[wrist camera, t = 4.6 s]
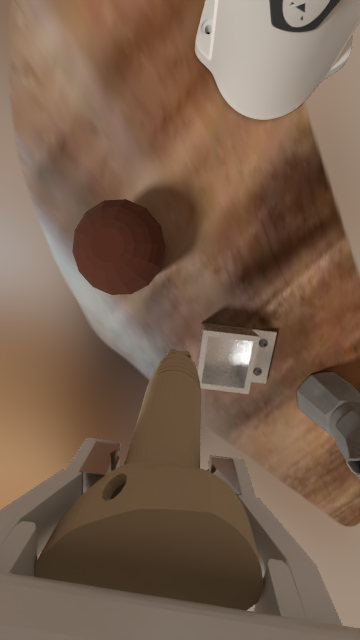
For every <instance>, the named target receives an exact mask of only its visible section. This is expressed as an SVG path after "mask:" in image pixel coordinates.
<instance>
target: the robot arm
mask: <svg viewBox="0 0 360 640" xmlns="http://www.w3.org/2000/svg"><path fill="white" fill-rule="evenodd" d="M359 22H360V0H206V1H205V5H204V9H203V12H202V16H201V20H200V24H199V28H198V32H197V36H196V43H195V53H196V55H197V57H198V58H199V60H200V61H201V62H202V63H203V64H204V65H205V66H206V67H207V68H208V69H209V70H210V71H211V72H212V74H213V76H214V79H215V81H216V84H217V86H218V88H219V90H220V92H221V94H222V96H223V97H224V99H225V100H226V101H227V103H228V104H229V105H230V106H231V107H232V108H233V109H235V110H236V111H237V112H239V113H241V114H242V115H244V116H247V117H250V118H253V119H260V120H268V119H274V118H278V117H281V116H284V115H286V114H288V113H290V112H292V111H293V110H295V109H296V108H298V107H299V106H300V105H301V104H302V103H303V102H304V101H305V100H306V99H307V98H308V97H309V96H310V95H311V93H312V92H313V91H314V90H315V89H316V87H317V86H318V85H319V84H320V83H321V82H322V81H323V80H324V79H326V78H328V77H329V76H331V75H333V74H334V73H336V72H337V71H338V70H340V69H341V68H342V67H343V66H344V64H345V62H346V61H347V59H348V57H349V56H350V53H351V48H352V34H353V32H354V31H355V29H356V27H357V26H358V24H359ZM207 32H209V33H210V34H206V33H207ZM119 451H120V443H118V442H112V441H106V440H100V439H93V438H87V439H86V440H85V441H84V442H83V444H82V445H81V447H80V448H79V450H78V452H77V453H76V455H75V456H74V458H73V459H72V461H71V462H70V464H69V465H68V467H67V469H66V470H61V471H59V472H57V473H56V474H54V475H53V476H51V477H50V478H48V479H47V480H45V481H44V482H42V483H41V484H39V485H38V486H36V487H35V488H33V489H32V490H30V491H28V492H27V493H25V494H24V495H22V496H21V497H19V498H18V499H16V500H15V501H13V502H12V503H10V504H9V505H7V506H6V507H4V508H3V509H1V510H0V640H360V628H353V627H347V626H342V623H341V621H340V619H339V616H338V614H337V612H336V609H335V607H334V605H333V603H332V600H331V598H330V596H329V593H328V591H327V589H326V587H325V584H324V582H323V580H322V577H321V575H320V573H319V570H318V568H317V566H316V564H315V563H314V562H313V561H312V559H311V558H310V557H309V556H308V555H307V553H306V552H305V551H304V550H303V549H302V548H301V547H300V545H299V544H298V543H297V542H296V541H295V539H294V538H293V537H292V536H291V535H290V534H289V532H288V531H287V530H286V529H285V528H284V527H283V526H282V524H281V523H280V522H279V521H278V519H277V518H276V517H275V516H274V515H273V514H272V512H271V511H270V510H269V509H268V508H267V507H266V505H264V503H263V502H262V501H261V500H260V498H256V497H255V494H254V490H253V487H252V484H251V480H250V477H249V474H248V470H247V467H246V464H245V461H244V460H243V459H235V458H227V457H219V456H212V455H210V457H209V462H208V463H209V469H208V470H207V471H209V472H211V473H213V474H214V475H216V476H218V477H219V478H220V479H222V480H223V481H224V482H226V483H227V484H228V485H229V486H230V487H231V489H232V490H233V491H234V492H235V493H236V495H237V496H238V498H239V500H240V501H241V503H242V505H243V507H244V509H245V511H246V514H247V517H248V519H249V522H250V525H251V528H252V532H253V536H254V540H255V544H256V548H257V552H258V556H259V560H260V565H261V569H262V575H263V588H262V593H261V596H260V599H259V602H258V603H256V604H255V608H254V611H246V610H240V609H234V608H227V607H221V606H215V605H209V604H202V603H196V602H190V601H184V600H177V599H171V598H165V597H159V596H152V595H146V594H140V593H133V592H127V591H121V590H114V589H108V588H102V587H95V586H89V585H83V584H76V583H70V582H64V581H57V580H51V579H45V578H38V577H35V575H34V566H35V563H36V561H37V556H38V554H40V552H41V551H42V550H43V549H44V547H45V545H46V543H47V541H48V540H49V538H50V536H51V534H52V532H53V531H54V529H55V527H56V526H57V524H58V523H59V521H60V520H61V519H62V517H63V516H64V515H65V514H66V512H67V511H68V510H69V509H70V508H71V507H72V505H73V504H74V503H75V502H76V501H77V500H78V499H79V498H80V497H81V496H82V495H83V494H84V493H85V492H86V491H87V490H88V489H89V488H90V487H92V486H93V485H94V484H95V483H96V482H97V481H99V480H100V479H101V478H103V477H104V476H105V475H107V474H108V473H109V472H111V471H113V470H115V469H117V468H118V466H119V456H118V453H119Z"/></svg>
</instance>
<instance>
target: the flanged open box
mask: <svg viewBox="0 0 360 640" xmlns="http://www.w3.org/2000/svg"><path fill="white" fill-rule="evenodd" d="M276 335H277V332H275V331H269V330H261V329H252V328H244V327H235V326H226V325H218V324H209V323H201V330H200V338H199V345H198V353H197V360H196V369H197V372H198V376H199V380H200V387H201V388H204V389H212V390H220V391H228V392H236V393H244V394H249V390H250V385H251V382H257V383H265V384H266V380H267V376H268V371H269V367H270V362H271V357H272V353H273V348H274V344H275V339H276Z"/></svg>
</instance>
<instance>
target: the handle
mask: <svg viewBox="0 0 360 640" xmlns="http://www.w3.org/2000/svg"><path fill="white" fill-rule="evenodd" d="M200 418H201V387H200V380H199V376H198V372H197V369H196V366H195V363H194V362H193V361H192V360H191V355H190V353H189V352H188V351H184V352H181V351H177V350H175V349H172V350H170V351H169V352H168V353H167V356H166V357H165V358H164V359H163V360H162V361H161V362H160V363H159V365H158V366H157V368H156V369H155V371H154V373H153V375H152V377H151V379H150V382H149V384H148V387H147V389H146V393H145V396H144V400H143V404H142V407H141V411H140V415H139V418H138V421H137V425H136V428H135V431H134V435H133V438H132V441H131V444H130V448H129V451H128V455H127V458H126V461H125V463H124V465H123V466H120V467H118V468H117V469H115V470H113V471H111V472H109V473H108V474H107V475H105V476H104V477H103V478H101V479H100V480H99V481H97V482H96V483H95V484H94V485H93V486H92V487H90V488H89V489H88V490H87V491H86V492H85V493H84V494H83V495H82V496H81V497H80V498H79V499H78V500H77V501H76V502H75V503H74V504H73V505H72V507H71V508H70V509H69V510H68V511H67V512H66V514H65V515H64V516H63V517H62V519H61V520H60V521H59V523H58V524H57V526H56V527H55V529H54V531H53V532H52V534H51V536H50V538H49V540H48V541H47V543H46V545H45V547H44V549H43V550H42V553H41V554H40V556H39V558H38V560H37V561H36V563H35V566H34V575H35V577H38V578H45V579H51V580H57V581H64V582H70V583H76V584H83V585H89V586H95V587H102V588H108V589H114V590H121V591H127V592H133V593H140V594H146V595H152V596H159V597H165V598H171V599H177V600H184V601H190V602H196V603H202V604H209V605H215V606H221V607H227V608H234V609H240V610H248V609H249V608H250V607H252V606H253V605H255V604H256V603H258V602H259V599H260V596H261V593H262V588H263V575H262V569H261V565H260V560H259V556H258V552H257V548H256V544H255V540H254V536H253V532H252V528H251V525H250V522H249V519H248V517H247V514H246V511H245V509H244V507H243V505H242V503H241V501H240V500H239V498H238V496H237V495H236V493H235V492H234V491H233V490H232V489H231V487H230V486H229V485H228V484H227V483H226V482H224V481H223V480H222V479H220V478H219V477H218V476H216V475H214V474H213V473H211V472H209V471H207V470H203V469H200Z"/></svg>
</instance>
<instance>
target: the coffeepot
mask: <svg viewBox="0 0 360 640" xmlns="http://www.w3.org/2000/svg"><path fill="white" fill-rule="evenodd" d="M297 401H298V407H299V410H301V411H302V412H303V413H304V414H305V415H307V416H308V417H309V418H310V419H311V420H313V421H314V422H315V423H316V424H317V425H319V426H320V427H321V428H322V429H323V430H325V431H326V432H327V433H329V434H330V435H331V436H333V437H334V438H335V440H336V445H337V447H338V448H339V450H340V451H341V453H342V455H343V456H344V458H345V459H346V463H347V465H348V467H349V468H350V470H351V471H352V472H353V473H355V475H356V476H357V478H358V479H359V481H360V392H359V391H358V390H357V389H356V388H355V387H353V386H352V385H351V384H350V383H349V382H348V381H346V380H345V379H343V378H342V377H341V376H339V375H338V374H336V373H335V372H321V373H317V374H314V375H311V376H309V377H308V378H307V379H306V380H305V381H304V382H303V383H302V384H301V385H300V387H299V389H298V390H297Z"/></svg>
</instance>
